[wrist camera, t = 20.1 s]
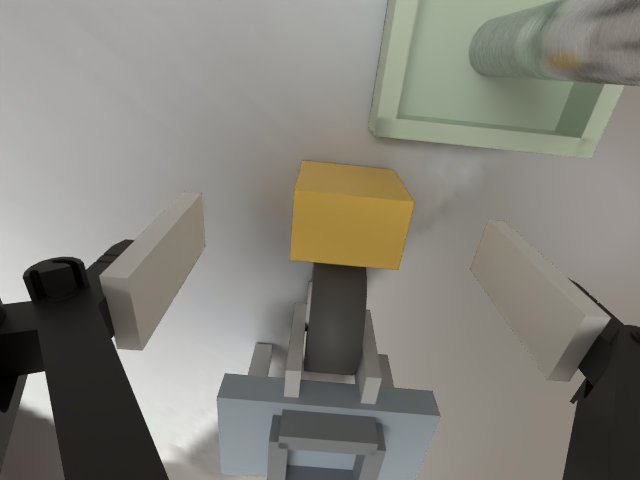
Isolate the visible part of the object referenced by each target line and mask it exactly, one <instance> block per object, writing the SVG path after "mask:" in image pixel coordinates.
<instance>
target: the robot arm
mask: <svg viewBox="0 0 640 480" xmlns="http://www.w3.org/2000/svg"><path fill="white" fill-rule="evenodd" d="M204 248H205V232H204V218H203V203H202V193H198V192H188V191H184V192H183V193H182V194H181V195H180V196H179V197H178V198H177V199H176V200H175V201H174V202H173V203H172V204H171V205H170V206H169V207H168V208H167V209H166V210H165V211H164V212H163V213H162V214H161V215H160V216H159V217H158V218H157V219H156V220H155V221H154V222H153V223H152V224H151V225H150V226H149V227H148V228H147V229H146V230H145V231H144V232H143V233H142V234H141V235H140V236H139V237H138V238H137V239H136V240H124V241H122V242H119V243H117V244H115V245H113V246H112V247H111V248H110V249H108V250H107V251H106V252H105V253H104V255H102V256H101V257H100V258H99V259H98V260H97V262H94V263H93V264H92V265H91V266H90V267H89V268H88V269H87V270H85V266H84V263H83V262H82V261H81V260H80V259H77V258H74V257H58V258H51V259H48V260H44V261H41V262H39V263H37V264H35V265H33V266H31V267H30V268H28V269H27V270H26V271H25V272H24V275H23V279H24V282H25V285H26V287H27V290H28V292H29V295H30V298H31V300H32V301H27V302H19V303H10V304H3V303H2V301H1V299H0V472H1V468H2V465H3V461H4V458H5V454H6V450H7V447H8V443H9V440H10V436H11V432H12V429H13V426H14V422H15V418H16V415H17V411H18V408H19V404H20V401H21V397H22V394H23V390H24V386H25V383H26V379H27V376H28V374H31V373H37V372H43V371H45V374H46V379H47V385H48V390H49V395H50V401H51V406H52V412H53V417H54V423H55V427H56V433H57V439H58V444H59V450H60V455H61V461H62V466H63V471H64V477H65V480H169V479H168V476H167V474H166V471H165V469H164V466H163V464H162V461H161V459H160V457H159V454H158V452H157V449H156V447H155V444H154V442H153V439H152V437H151V434H150V432H149V430H148V427H147V425H146V422H145V420H144V417H143V415H142V412H141V410H140V408H139V405H138V403H137V400H136V398H135V395H134V393H133V390H132V388H131V386H130V383H129V381H128V378H127V376H126V373H125V371H124V368H123V366H122V363H121V361H120V359H119V356H118V354H117V351H116V349H115V346H114V344H113V341H112V339H111V338H112V337H113V336H114V337H115V341H116V345H117V349H127V350H141V351H142V350H143V349H144V347H145V345H146V344H147V342H148V340H149V339H150V337H151V336H152V334H153V332H154V331H155V329H156V327H157V326H158V324H159V322H160V321H161V319H162V317H163V316H164V314H165V312H166V311H167V309H168V307H169V306H170V304H171V303H172V301H173V299H174V298H175V296H176V294H177V293H178V291H179V289H180V288H181V286H182V284H183V283H184V281H185V279H186V278H187V276H188V274H189V273H190V271H191V270H192V268H193V266H194V265H195V263H196V261H197V260H198V258H199V256H200V255H201V253H202V251H203V250H204ZM470 270H471V271H472V272H473V274H474V275H475V277H476V278H477V280H478V281H479V283H480V284H481V285H482V287H483V288H484V290H485V291H486V293H487V294H488V296H489V297H490V298H491V300H492V301H493V303H494V304H495V306H496V307H497V308H498V310H499V311H500V313H501V314H502V316H503V317H504V319H505V320H506V321H507V323H508V324H509V326H510V327H511V329H512V330H513V332H514V333H515V334H516V336H517V337H518V339H519V340H520V342H521V343H522V345H523V346H524V347H525V349H526V350H527V352H528V353H529V355H530V356H531V358H532V359H533V361H534V362H535V363H536V365H537V366H538V368H539V369H540V371H541V372H542V374H543V375H544V376H545V378H546V379H547V380H554V381H570V380H571V378H572V377H573V375H574V374H575V372H576V371H577V369H578V368H579V369H580V371H581V372H582V373H583V375H584V376H585V377H586V379H585V380H584V381H583V383H582V384H581V386H580V387H579V389H578V390H577V392H576V393H575V395H574V396H573V398H572V399H571V401H570V402H571V403H573V404H574V403H575V401H576V400H578V401H577V406H576V412H575V417H574V422H573V427H572V433H571V438H570V443H569V448H568V454H567V459H566V464H565V469H564V475H563V480H640V327H637V326H632V325H624V324H623V323H621V322H620V321H619V320H618V319H617V318H616V317H615V316H614V315H613V314H611V313H610V312H609V311H608V310H607V309H606V308H605V307H604V306H602V305H601V304H600V303H597V300H596V299H594V298H593V297H592V296H591V295H589V293H588V292H587V291H586V290H585V289H583V288H582V287H581V286H580V285H579V284H577V283H575V282H574V281H572V280H570V279H569V278H567V277H566V276H565V275H563V274H562V273H561V272H560V271H559V270H558V269H557V268H556V267H555V266H553V264H551V263H550V262H549V261H548V260H547V259H546V258H545V257H544V256H542V254H540V253H539V252H538V251H537V250H536V249H535V248H534V247H533V246H532V245H531V244H529V243H528V242H527V241H526V240H525V239H524V238H523V237H521V235H519V234H518V233H517V232H516V231H515V230H514V229H513V228H512V227H511V226H510V225H509V224H507V223H506V222H505V221H501V220H490V219H489V220H488V222H487V225H486V228H485V230H484V233H483V236H482V238H481V241H480V244H479V247H478V249H477V252H476V255H475V257H474V260H473V263H472V266H471V268H470Z"/></svg>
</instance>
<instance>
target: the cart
mask: <svg viewBox="0 0 640 480" xmlns="http://www.w3.org/2000/svg"><path fill="white" fill-rule="evenodd" d="M366 299H367V276H366V267H360V266H349V265H339V264H328V263H317V262H313V272H312V282H309V288H308V298H307V304H299V303H295V307H294V314H293V321H292V328H291V336H290V343H289V350H288V357H287V365H286V374H285V378H274V377H268V373H269V368H270V363H271V357H272V345H268V344H257V343H256V345H255V349H254V353H253V356H252V360H251V364H250V368H249V372H248V375H239V374H227V373H225V375H224V378H223V381H222V384H221V387H220V390H219V393H218V396H217V408H218V426H219V443H220V461H221V474H229V475H243V476H255V477H267V480H416V477H417V475H418V472H419V470H420V467H421V465H422V462H423V460H424V457H425V455H426V452H427V450H428V447H429V444H430V442H431V439H432V437H433V434H434V432H435V429H436V427H437V424H438V422H439V419H440V417H441V416H440V413H439V410H438V406H437V403H436V400H435V397H434V395H433V391H425V390H414V389H402V388H394V385H393V380H392V375H391V370H390V366H389V361H388V356H387V355H382V354H377V348H376V343H375V336H374V330H373V325H372V319H371V313H370V310H366ZM305 331H307V335H306V347H305V360H304V371H306V372H318V373H330V374H341V375H355V384H344V383H333V382H321V381H309V380H300V379H301V368H302V357H303V345H304V334H305Z"/></svg>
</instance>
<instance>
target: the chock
mask: <svg viewBox="0 0 640 480" xmlns="http://www.w3.org/2000/svg"><path fill="white" fill-rule="evenodd" d="M413 206H414V201H413V199H412V197H411V196H410V194H409V193H408V191H407V190H406V188H405V187H404V185H403V183H402V182H401V180H400V179H399V177H398V176H397V174H396V173H395V171H394V170H392V169H382V168H372V167H362V166H353V165H343V164H333V163H323V162H313V161H304V160H302V163H301V167H300V171H299V175H298V179H297V182H296V186H295V190H294V204H293V219H292V234H291V249H290V260H296V261H307V262H317V263H328V264H339V265H349V266H360V267H371V268H381V269H392V270H399V265H400V261H401V257H402V253H403V249H404V244H405V240H406V236H407V232H408V227H409V223H410V219H411V215H412V211H413Z"/></svg>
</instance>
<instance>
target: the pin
mask: <svg viewBox="0 0 640 480" xmlns="http://www.w3.org/2000/svg"><path fill="white" fill-rule="evenodd" d="M469 59H470V63H471V65H472V67H473V68H474V70H475V71H476V72H478V73H479V74H481V75H484V76H493V77H508V78H523V79H539V80H554V81H569V82H584V83H599V84H614V85H630V86H640V0H555V1H552V2H548V3H545V4H541V5H538V6H535V7H531V8H528V9H524V10H521V11H517V12H514V13H510V14H507V15H503V16H500V17H496V18H493V19H491V20H489V21H487V22H485V23H484V24H483V25H482V26H481V27H480V28H479V29H478V30H477V31H476V33H475V34H474V36H473V38H472V40H471V43H470V47H469Z"/></svg>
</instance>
